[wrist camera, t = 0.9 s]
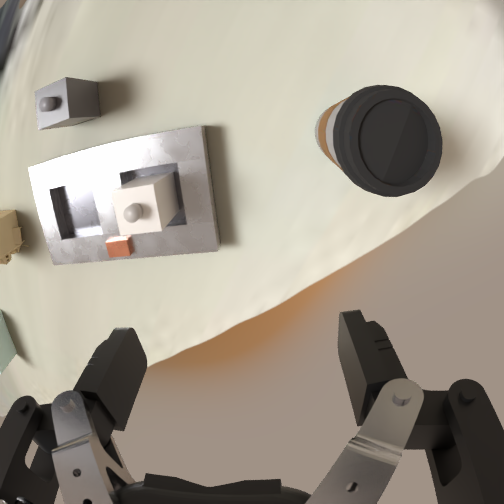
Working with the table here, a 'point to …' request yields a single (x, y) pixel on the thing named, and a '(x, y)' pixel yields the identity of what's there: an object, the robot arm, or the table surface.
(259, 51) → the table surface
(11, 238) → the robot
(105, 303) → the table surface
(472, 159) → the table surface
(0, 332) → the l-shaped corner panel
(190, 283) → the table surface
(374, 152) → the coffee cup
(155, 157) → the socket plate
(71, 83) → the grey plug
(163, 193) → the white plug
